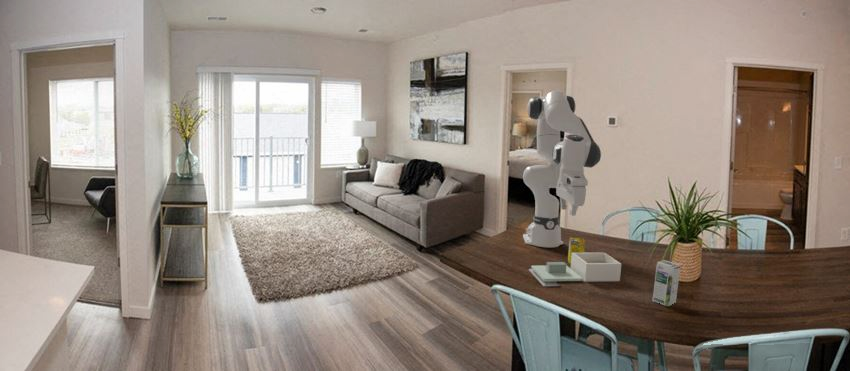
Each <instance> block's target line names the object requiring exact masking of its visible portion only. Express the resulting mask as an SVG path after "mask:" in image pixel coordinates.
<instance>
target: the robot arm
mask: <svg viewBox="0 0 850 371" xmlns="http://www.w3.org/2000/svg"><path fill="white" fill-rule="evenodd" d="M575 111H576V101H575V98H574V97H573V96H571V95H565V93H564V92H562V91H561V90H552V91H550V92H548V93H547V94H546V95H545V96H534V97H531V98H530V99H528V103H527V106H526V112H527V114H528V117H529V118H530V119H532V120H537V126H536V151H537V154H538V155H539V156H540V157H541V158H544V159H545V160H546V162H547V164H536V165H530V166H527V167H525V169H524V170H523V174H522V180H523V183H524V184H525V185H526V186H527V187H528V188H529V190H531V192H532V194H533V195H534V196H533V197H534V200H535V202H534V203H535V206H534V208H535V209H534V211H535V212H534V214H533V218H532V221H533V222H531V223H529V225H528V226H527V228H525V233H524V234H523V235H522V238H523V240H524V243H525V244H526V245H531V246H535V247H538V248H539V247H540V248H558V247H559V246H560V245H564V241H562V230H561V229H562V228H561V226H559V223H560V216H559V210H560V209H561V210H563V211H564V210H567V207H568V206H567V203H569V204H570V205H571V209H570V210H569V215H571V216H576V215H577V211H578V209H579V207H583V206H584V205H585V200H586V195H587V194H586V193H587V188H586V187H587V186H588V184H589V181H588V179H587V178H586V177H585V174H584V173H585V169H584V168H594V167H595V166H596V165H598V163H599V162H600V161H601V157H602V156H601V155H602V154H601V153H602V152H601V149H600V146H599V145H598V144H597V143H596V142H595V140H594V139H593V137H592V134H591V133H590V131H589V129H588V127H587V125H586V123H585V121H584V120H583V119H582V118H581V117H579V116H578V115H576V113H575ZM561 132H564V133H567V134H568V135H565V136H564V137H563V140H562V141H561ZM551 188H552V189H556V191H555V193H556V194H555V195H556V196H558V197H559V199H558V198H557V197H556V196H555V195H552V194H551V193H550V189H551ZM559 200H560V201H559Z"/></svg>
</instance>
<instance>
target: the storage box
mask: <svg viewBox="0 0 850 371" xmlns="http://www.w3.org/2000/svg"><path fill="white" fill-rule="evenodd" d="M596 261H601V262H602V263H589V262H596ZM569 268H570V269H572V270H573V271H574V272H575V273H576V274H578V275H579V276H580V277H581V278H582V281H584V282H586V283H587V282H620V281H621V271H622V263H621V262H619V261H618V260H616V259H615V258H614V257H612V256H610V255H609V254H608V253H606V252H605V251H604V252H584V253H572V256H571V264H570V267H569Z"/></svg>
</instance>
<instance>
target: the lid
mask: <svg viewBox="0 0 850 371" xmlns="http://www.w3.org/2000/svg"><path fill="white" fill-rule="evenodd" d="M545 264H546V265H543V264H542V265H531V266H530V269H533V270H534V271H535V272H536V274H537V275H538V276H539V277H540V278H541V279H542V280H543V281H546V282H582V281H583V279H582V278H581V277H580V276H579V275H578V274H576V273H575V272H574V271H573V270H572V269H570V268H571V267H569V266H568V265H567V263H566V262H564V261H546V263H545Z"/></svg>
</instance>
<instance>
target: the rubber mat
mask: <svg viewBox="0 0 850 371" xmlns="http://www.w3.org/2000/svg"><path fill="white" fill-rule="evenodd" d="M528 271H529V273H531V274H532V275H533V277H534V278H535V279H536V280H537V281H538V282H539V283H540V284H541V285H542V286H543V287H562V285H561V284H560V283H559V281H557V282H546V281H543V280H542V279H541V278H540V277H539V276H538V275H537V274H536V272H535V271H534V270H533V269H532V268H528Z"/></svg>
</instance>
